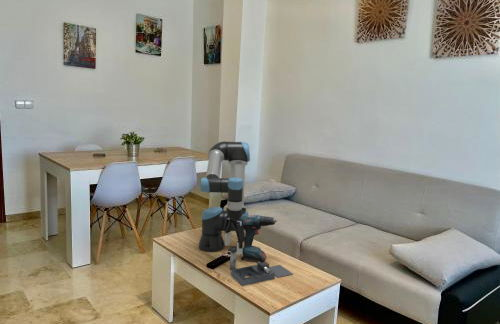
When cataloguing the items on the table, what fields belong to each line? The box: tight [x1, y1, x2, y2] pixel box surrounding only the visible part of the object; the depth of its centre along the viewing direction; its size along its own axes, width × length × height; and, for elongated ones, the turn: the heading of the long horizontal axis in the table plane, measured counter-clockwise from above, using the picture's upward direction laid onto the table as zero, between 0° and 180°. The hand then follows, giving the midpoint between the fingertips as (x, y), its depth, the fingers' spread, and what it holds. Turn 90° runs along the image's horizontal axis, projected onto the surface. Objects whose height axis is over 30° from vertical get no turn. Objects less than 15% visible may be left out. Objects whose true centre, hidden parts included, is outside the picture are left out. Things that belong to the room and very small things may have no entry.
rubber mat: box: [269, 264, 294, 279], centre depth 197 cm, size 12×9×1 cm
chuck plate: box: [230, 261, 276, 287], centre depth 189 cm, size 12×18×6 cm, turn 119°
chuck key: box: [227, 245, 237, 271], centre depth 196 cm, size 4×6×12 cm, turn 119°
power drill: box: [239, 214, 278, 263], centre depth 210 cm, size 9×23×25 cm, turn 78°
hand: (233, 249), depth 195 cm, fingers open, 13 cm apart
